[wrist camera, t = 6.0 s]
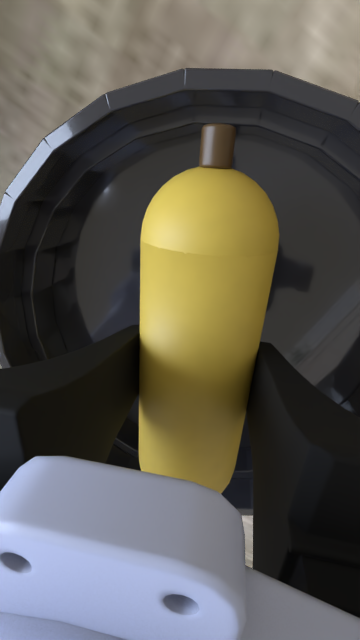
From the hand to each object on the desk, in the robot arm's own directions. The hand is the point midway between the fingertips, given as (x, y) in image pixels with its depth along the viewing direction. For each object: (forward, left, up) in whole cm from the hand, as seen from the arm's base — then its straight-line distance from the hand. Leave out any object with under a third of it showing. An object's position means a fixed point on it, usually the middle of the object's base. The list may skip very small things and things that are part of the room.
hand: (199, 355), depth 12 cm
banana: (0, 0, -1) cm, 1 cm away
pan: (0, 0, -3) cm, 3 cm away
